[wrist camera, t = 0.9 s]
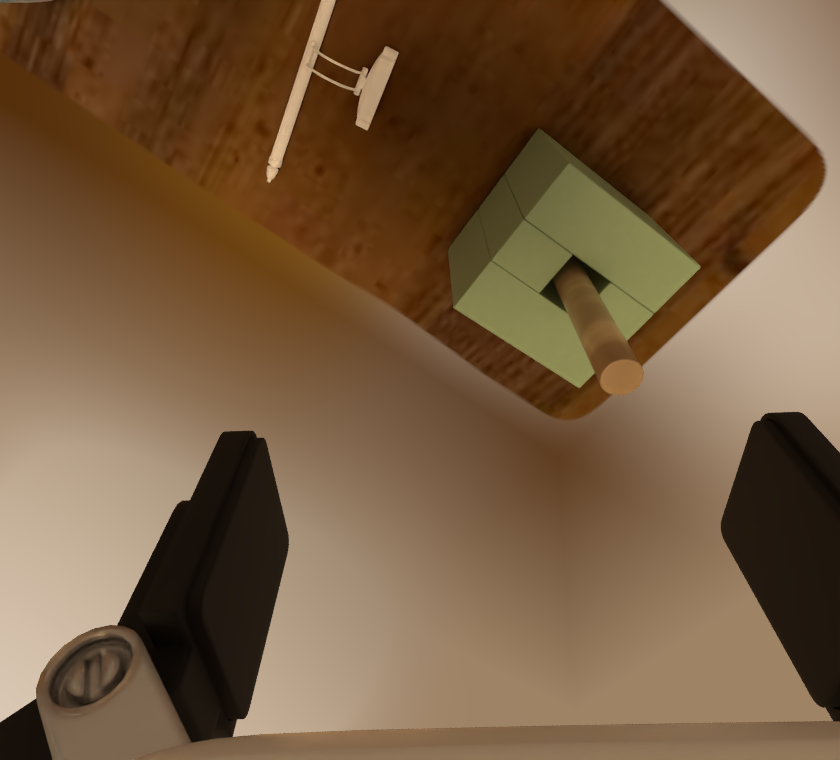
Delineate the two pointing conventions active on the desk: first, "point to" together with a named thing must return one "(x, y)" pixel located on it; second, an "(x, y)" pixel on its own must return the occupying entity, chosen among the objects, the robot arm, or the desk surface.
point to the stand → (560, 256)
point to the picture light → (369, 85)
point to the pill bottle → (22, 1)
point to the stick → (597, 331)
